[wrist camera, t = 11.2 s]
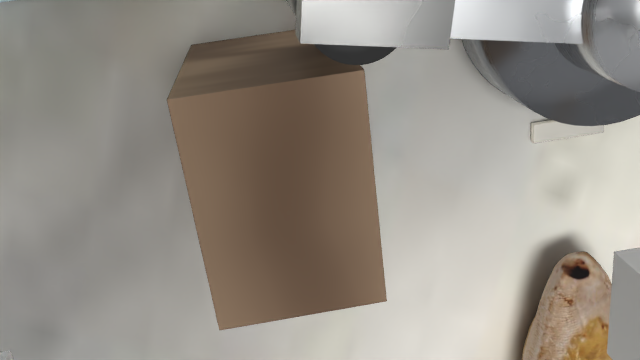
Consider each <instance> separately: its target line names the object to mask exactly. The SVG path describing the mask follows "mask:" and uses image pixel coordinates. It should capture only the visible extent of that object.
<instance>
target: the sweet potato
mask: <svg viewBox="0 0 640 360" xmlns="http://www.w3.org/2000/svg"><path fill="white" fill-rule="evenodd" d="M611 288H612V284H611V282H610V280H609V277H608V275H607V274H606V272H605V271H604V270H603V268H602V267H601V266H600V264H599V263H598V262H597V261H596V260H595V259H594V258H593V257H592V256H591V255H589V254H588V253H587V252H574V253H570V254H567V255H565V256H564V257H563V258H562V259H561V260H560V261H559V262H558V263H557V264H556V266H555V267H554V269H553V271H552V273H551V275H550V277H549V279H548V281H547V284H546V286H545V289H544V291H543V294H542V297H541V300H540V303H539V306H538V310H537V314H536V316H535V317H534V319H533V321H532V323H531V325H530V328H529V331H528V335H527V339H526V341H525V344H524V348H523V353H522V360H612V358H611V357H610V356H609V355H608V354H607V345H608V331H609V316H610V302H611Z"/></svg>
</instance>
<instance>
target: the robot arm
mask: <svg viewBox="0 0 640 360" xmlns="http://www.w3.org/2000/svg"><path fill="white" fill-rule="evenodd" d="M607 354H608V355H609V356H610V357H611V358H612V360H640V248H634V249H628V250H622V251H616V252H614V260H613V274H612V288H611V302H610V316H609V331H608V345H607ZM0 360H14V359H13V356H12V354H11V351H10V350H9V351H3V352H0Z"/></svg>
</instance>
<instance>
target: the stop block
mask: <svg viewBox="0 0 640 360" xmlns="http://www.w3.org/2000/svg"><path fill="white" fill-rule="evenodd" d="M167 103H168V107H169V111H170V116H171V120H172V125H173V129H174V133H175V138H176V142H177V146H178V151H179V155H180V160H181V164H182V168H183V173H184V177H185V181H186V186H187V190H188V195H189V199H190V203H191V208H192V212H193V216H194V221H195V225H196V230H197V234H198V238H199V243H200V247H201V251H202V256H203V260H204V265H205V269H206V273H207V278H208V282H209V287H210V291H211V295H212V300H213V304H214V308H215V313H216V317H217V322H218V326H219V330H224V329H230V328H236V327H242V326H247V325H253V324H259V323H265V322H270V321H276V320H282V319H288V318H293V317H299V316H305V315H310V314H316V313H322V312H328V311H333V310H339V309H345V308H351V307H356V306H362V305H368V304H374V303H379V302H385V301H387V299H386V289H385V279H384V268H383V258H382V248H381V238H380V227H379V217H378V207H377V196H376V186H375V176H374V165H373V155H372V145H371V135H370V124H369V114H368V104H367V93H366V83H365V73H364V69H363V68H362V67H361V66H360V65H348V64H343V63H340V62H337V61H334V60H332V59H330V58H329V57H327V56H326V55H324V54H323V53H322V52H321V51H320V50H318V49H317V48H316V46H315V45H314V44H302V43H300V42H299V40H298V38H297V36H296V34H295V30H290V31H284V32H277V33H270V34H263V35H256V36H249V37H242V38H236V39H229V40H222V41H215V42H208V43H201V44H194V45H191V47H190V49H189V51H188V54H187V56H186V58H185V60H184V63H183V65H182V67H181V69H180V71H179V74H178V76H177V78H176V80H175V83H174V85H173V87H172V89H171V92H170V94H169V96H168V98H167Z"/></svg>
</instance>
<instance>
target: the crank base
mask: <svg viewBox="0 0 640 360" xmlns="http://www.w3.org/2000/svg"><path fill="white" fill-rule="evenodd" d="M462 41H463V44H464V47H465V49H466V52H467V53H468V55H469V57H470V59H471V61H472V63H473V64H474V65H475V67H476V68H477V69H478V71H479V72H480V73H481V75H482V76H484V77H485V78H486V79H487V80H488V81H489V82H490V83H491V84H492V85H493V86H495V87H496V88H498V89H499V90H500V91H502V92H503V93H505V94H507V95H508V96H510V97H511V98H513V99H515V100H516V101H518V102H519V103H521V104H523V105H524V106H526V107H528V108H529V109H531V110H532V111H534V112H536V113H538V114H540V115H542V116H544V117H546V118H548V119H551V120H547V121H541V122H534V123H531V142H533V143H540V142H547V141H553V140H559V139H565V138H572V137H578V136H584V135H590V134H597V133H603V132H604V125H608V124H612V123H617V122H621V121H624V120H627V119H630V118H633V117H636V116H638V115H640V92H637V91H635V90H632V89H630V88H627V87H625V86H622V85H620V84H617V83H615V82H612V81H610V80H608V79H605V78H603V77H600V76H598V75H595V74H593V73H590V72H588V71H585V70H583V69H581V68H578V67H577V66H575V65H573V64H572V63H570V62H569V61H568V60H567V59H566V58H565V57H564V56H563V55H562V54H561V53H560V52H559V50H558V49H557V47H556V45H555V44H554V43H547V42H523V41H499V40H474V39H462Z"/></svg>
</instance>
